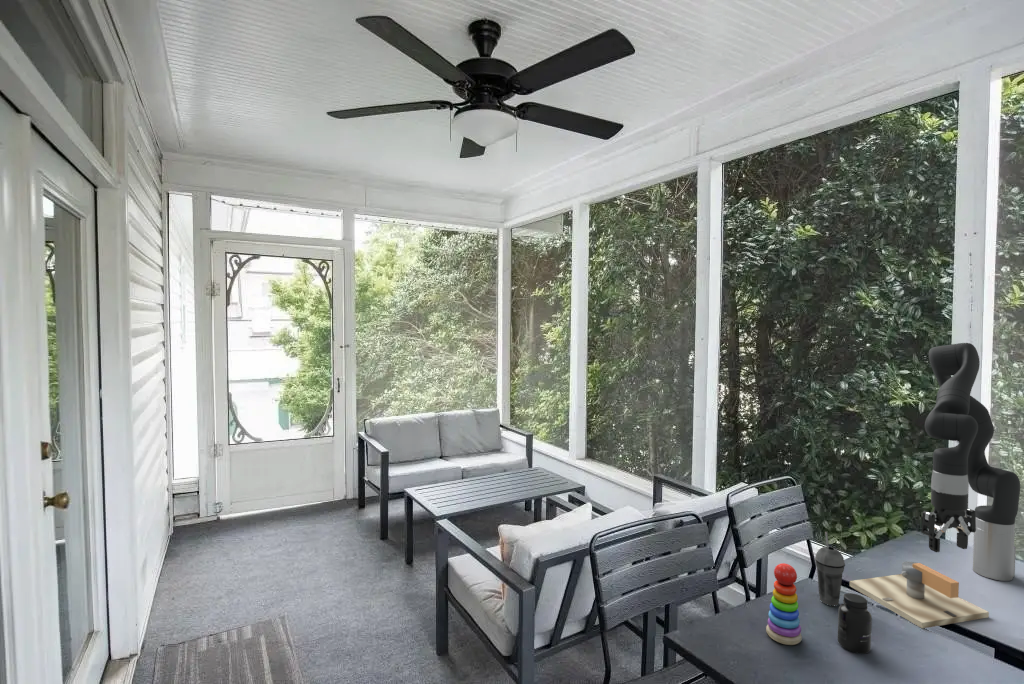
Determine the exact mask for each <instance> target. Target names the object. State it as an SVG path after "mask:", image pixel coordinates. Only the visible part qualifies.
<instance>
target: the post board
mask: <svg viewBox="0 0 1024 684" xmlns="http://www.w3.org/2000/svg"><path fill="white" fill-rule="evenodd" d="M849 587H850V588H852V589H854V590H855V591H857V592H859V593H861V594H863V595H864V596H866V597H868V599H871V600H872V601H875V602H876V603H878V604H879V605H881V606H883V607H885V608H886V609H888V610H890V611H891V612H893V613H895V614H897V615H898V616H900V617H901V618H903V619H905V620H906V621H908V622H910V623H912V624H914V625H915V626H917V627H919V628H920V629H927V628H933V627H940V626H946V625H950V624H957V623H964V622H969V621H976V620H982V619H987V618H988V619H989V617H990V611H988V610H986V609H984V608H982V607H980V606H978V605H976V604H974V603H972V602H970V601H967V600H966V599H963V598H961V597H959V596H958V597H957V598H949V597H947V596H946V595H944V594H942V593H940V592H938V591H936V590H934V589H932V588H931V587H929V586H927V585H925V584H923V583H919V582H915V581H911V580H909V579H907V578H905V577H903V576H902V573H900V574H892V575H885V576H877V577H869V578H864V579H855V580H849Z"/></svg>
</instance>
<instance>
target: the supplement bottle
mask: <svg viewBox="0 0 1024 684" xmlns="http://www.w3.org/2000/svg"><path fill="white" fill-rule="evenodd" d="M837 611H838V612H837V642H838V644H839V645H840V646H841V647H842V648H843V649H845V650H847V651H849V652H852V653H855V654H861V655H864V654H868V653H869V652H870V651H871V649H872V627H873V626H872V625H873V624H872V623H873V619H872V614H871V612H870V611H869V610H868V600H867V599H866V598H865V597H864V596H862V595H860V594H857V593H853V592H851V593H850V592H847V593H844V595H843V599H842V604H839V607H838V610H837Z"/></svg>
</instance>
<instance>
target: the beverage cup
mask: <svg viewBox="0 0 1024 684" xmlns="http://www.w3.org/2000/svg"><path fill="white" fill-rule="evenodd" d="M824 533H825V534H824V535H825V544H826V546H823V547H821V548H819V549H818V550H817V551H816V554H815V558H814V561H815V568H816V572H817V585H818V595H819V601H820V600H821V601H822V602H823V603H825V604H828V605H832V606H831V607H837V606H836V605H839V602H840V598H841V589H842V582H843V581H842V580H843V573H844V570H845V566H846V564H845V559H844V556H843V555H842V553H841V552H840V551H839V550H838V549H836V548H835V547H832V546H829V537H828V531H825V532H824ZM821 601H820V602H821ZM822 602H821V603H822ZM823 603H822V604H823ZM825 604H824V605H825ZM828 605H827V606H828ZM834 605H835V606H834Z"/></svg>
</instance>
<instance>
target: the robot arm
mask: <svg viewBox="0 0 1024 684" xmlns="http://www.w3.org/2000/svg"><path fill="white" fill-rule="evenodd" d="M928 360H929V363H930V367H931V369H932V372H933V374H934V376H935V378H936V381H937V384H938V385H939V389H937V390H938V391H937V394H936V400H935V401H936V402H935V405H934V406H933V409H932V410H931V411H930V412H929V414H928V415H927V416H926V418H925V421H924V430H925V432H926V435H928V436H929V437H930V438H932V439H935V440H944V441H953V442H958V444H957V445H956V446H951V447H939V448H938V447H937V448H935V449H933V450H934V451H933V453H932V473H931V480H930V483H931V484H930V487H931V488H930V503H931V505H932V506H933V507H934V509H933V511H932V512H929V511H926V510H923V511H922V516H921V517H922V518H921V530H920V532H921V534H922V535H923V534H924V535H926V536H928V548H929V550H931V551H933V552H934V553H940V552H941V538H940V537H941V536H942V534H943V533H946V531H947V530H949V529H953V528H954V529H955V530H956V531H957V532H956V547H958V548H960V549H963V550H967V549H968V546H969V536H970V535H971V534H972V533H973V545H972V547H973V548H972V549H973V550H972V571H973V572H974V573H976V574H978V575H979V576H982V577H985V578H988V579H990V580H996V581H1002V582H1008V581H1012V580H1014V577H1015V576H1016V552H1017V551H1016V549H1017V548H1016V546H1015V530H1016V529H1015V527H1016V518H1017V515H1018V513H1019V503H1020V496H1021V481H1020V478H1019V476H1018V475H1017V474H1016V473H1015V472H1013V471H1010V470H1006V469H1002V468H1000V467H999V468H998V467H995V466H994V467H993V466H991V465H990V464H989V463H988V460H987V456H986V449H987V447H988V445H989V444H990V442H991V441H992V439H993V437H994V433H995V428H994V424H993V421H992V418H991V416H990V415H991V414H990V412H989V410H988V409H987V407H986V406H985V405H984V404H983V403H982V402H980V401H979V400H978V399H976V398H975V397H973V396H972V395H971V393H972V388H973V386H974V384H975V382H976V379H977V376H978V373H979V370H980V364H981V363H980V356H979V353H978V350H977V348H976V347H975V345H974V344H972V343H970V342H962V343H961V342H960V343H952V344H946V345H945V344H944V345H939V346H937V345H936V346H934V347H931V348H930V349H929V350H928ZM969 487H970V488H971V489H972V491H973V492H974V493H977V494H979V495H982V496H986V497H989V498H992V504H991V505H978V506H976V507H975V508H974V509H971V508H969Z"/></svg>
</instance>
